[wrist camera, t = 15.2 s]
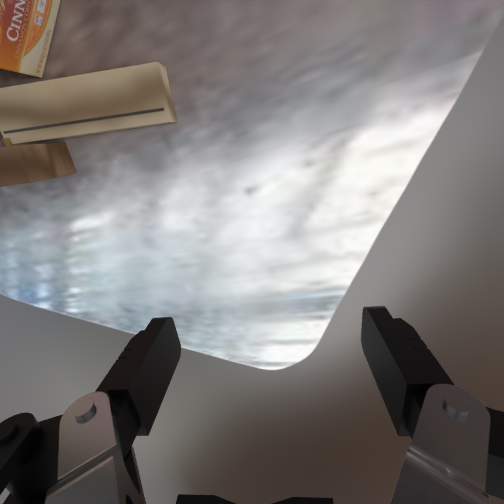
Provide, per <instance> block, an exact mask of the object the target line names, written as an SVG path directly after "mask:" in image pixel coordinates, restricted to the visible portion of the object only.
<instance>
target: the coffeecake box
mask: <svg viewBox="0 0 504 504" xmlns="http://www.w3.org/2000/svg"><path fill="white" fill-rule="evenodd" d="M60 1H61V0H0V68H1V69H5V70H9V71H14V72H18V73H23V74H27V75H31V76H35V77H40V78H42V76H43V72H44V68H45V64H46V60H47V55H48V51H49V47H50V43H51V39H52V34H53V30H54V26H55V22H56V18H57V14H58V9H59V5H60Z"/></svg>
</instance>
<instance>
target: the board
mask: <svg viewBox="0 0 504 504" xmlns="http://www.w3.org/2000/svg"><path fill="white" fill-rule="evenodd" d="M170 123H177V120H176V115H175V110H174V106H173V101H172V96H171V91H170V87H169V82H168V77H167V72H166V68H165V66H163V65H162V64H160V63H158V62H153V63H147V64H141V65H135V66H129V67H123V68H117V69H111V70H105V71H99V72H93V73H88V74H82V75H76V76H70V77H64V78H58V79H52V80H46V81H40V82H34V83H28V84H22V85H16V86H10V87H4V88H0V131H1V133H2V135H3V138H10V140H11V142H12V144H13V145H16V144H28V143H35V142H42V141H49V140H56V139H63V138H70V137H78V136H85V135H92V134H99V133H106V132H113V131H120V130H127V129H135V128H142V127H149V126H156V125H163V124H170Z"/></svg>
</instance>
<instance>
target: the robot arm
mask: <svg viewBox="0 0 504 504" xmlns="http://www.w3.org/2000/svg"><path fill="white" fill-rule="evenodd" d="M361 343H362V348H363V352H364V354H365V357H366V359H367V361H368V364H369V366H370V369H371V371H372V374H373V376H374V379H375V381H376V383H377V386H378V388H379V391H380V393H381V395H382V398H383V400H384V403H385V405H386V407H387V410H388V412H389V415H390V417H391V419H392V422H393V424H394V427H395V429H396V431H397V434H398V436H410V437H411V439H412V442H411V445H410V448H409V449H408V451H407V453H406V456H405V460H404V463H403V466H402V469H401V472H400V476H399V479H398V482H397V485H396V488H395V492H394V495H393V498H392V501H391V504H489V497H488V496H487V495H486V494H485V493H487V494H489V495H492V496H495V497H498V498H501V499H503V500H504V412H502V411H498V410H494V409H491V408H488V407H485V406H484V404H483V403H482V402H481V401H480V400H479V399H478V398H476V397H475V396H474V395H473V394H471V393H470V392H468V391H466V390H464V389H462V388H460V387H457V386H455V385H454V383H453V382H452V381H451V379H450V378H449V376H448V375H447V374H446V373H445V371H444V369H443V368H442V367H441V365H440V364H439V363H438V361H437V360H436V358H435V357H434V356H433V354H432V353H431V352H430V350H429V349H427V346H426V344H425V343H424V342H423V340H421V338H420V336H419V335H418V333H417V332H416V331H415V329H414V328H413V327H412V326H411V325H409V324H408V323H407V322H405V321H404V320H402V319H401V318H396V319H393V318H392V316H391V315H390V314H389V312H388V310H387V309H386V307H385V306H373V307H364V308H363V314H362V329H361ZM180 355H181V344H180V341H179V337H178V334H177V331H176V327H175V324H174V321H173V319H172V318H171V317H162V318H153V319H152V320H151V321H150V323H149V324H148V326H147V327H146V329H145V330H142V331H140V332H139V333H138V334H136V335H135V336H134V337H133V338H132V339H131V340H130V341H129V343H128V344H127V346H126V347H125V349H124V351H123V352H122V353H121V355H120V356H119V357H118V360H116V362H115V363H114V365H113V366H112V368H111V369H110V371H109V372H108V374H107V375H106V376H105V378H104V379H103V381H102V383H101V384H100V385H99V387H98V388H97V390H96V391H95V392H92V393H89V394H87V395H85V396H83V397H81V398H79V399H78V400H76V401H75V402H74V403H73V404H72V405H70V406H69V407H68V409H67V410H66V411H65V413H64V414H63V415H60V416H56V417H53V418H50V419H47V420H44V421H41V422H37V420H36V419H35V417H34V416H33V415H32V414H31V413H20V414H17V415H14V416H12V417H10V418H8V419H6V420H4V421H3V422H1V423H0V495H1V493H2V492H3V490H4V489H5V488H7V490H8V491H9V492H10V494H9V496H8V497H7V498H6V500H5V501H4V503H3V504H146V501H145V497H144V493H143V488H142V484H141V480H140V475H139V470H138V466H137V461H136V457H135V452H134V448H133V446H132V444H133V441H134V440H135V437H136V436H148V435H149V433H150V430H151V428H152V425H153V423H154V420H155V418H156V416H157V413H158V411H159V408H160V406H161V403H162V401H163V398H164V396H165V393H166V391H167V389H168V386H169V384H170V381H171V379H172V376H173V374H174V371H175V369H176V366H177V364H178V361H179V359H180ZM176 504H236V503H233V502H230V501H227V500H225V499H223V498H220V497H217V496H215V495H180V494H179V495H178V497H177V501H176ZM273 504H333V498H311V497H310V498H309V497H292V498H288V499H285V500H282V501H279V502H276V503H273Z"/></svg>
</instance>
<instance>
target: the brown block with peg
mask: <svg viewBox="0 0 504 504" xmlns="http://www.w3.org/2000/svg"><path fill="white" fill-rule="evenodd" d="M1 140H2V143H3V145H4V147H0V186H8V185H16V184H24V183H31V182H36V181H40V180H45V179H50V178H55V177H59V176H64V175H69V174H74V173H77V172H76V169H75V167H74V164H73V161H72V159H71V156H70V153H69V151H68V148H67V146H66V143H47V144H28V145H13V144H12V142H11V140H10V138H2V139H1Z"/></svg>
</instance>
